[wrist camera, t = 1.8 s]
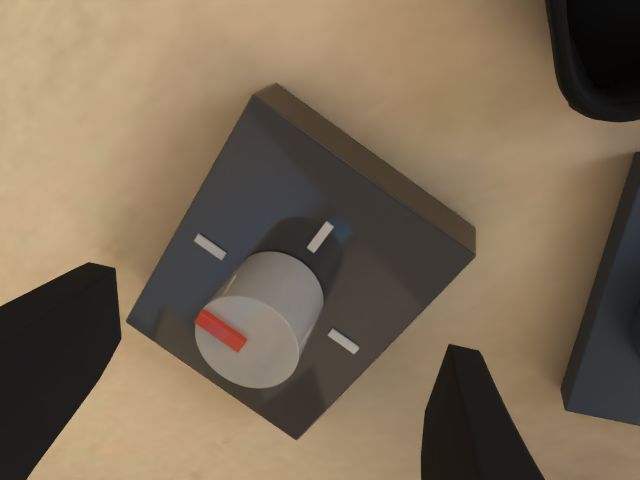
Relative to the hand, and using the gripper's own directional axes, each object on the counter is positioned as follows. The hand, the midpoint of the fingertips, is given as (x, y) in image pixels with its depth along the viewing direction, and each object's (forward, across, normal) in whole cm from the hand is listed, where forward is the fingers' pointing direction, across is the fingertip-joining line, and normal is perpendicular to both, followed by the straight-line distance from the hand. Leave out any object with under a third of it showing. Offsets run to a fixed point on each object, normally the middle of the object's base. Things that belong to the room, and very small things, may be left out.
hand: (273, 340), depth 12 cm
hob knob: (+9, +2, +6) cm, 11 cm away
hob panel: (+12, +2, +6) cm, 13 cm away
